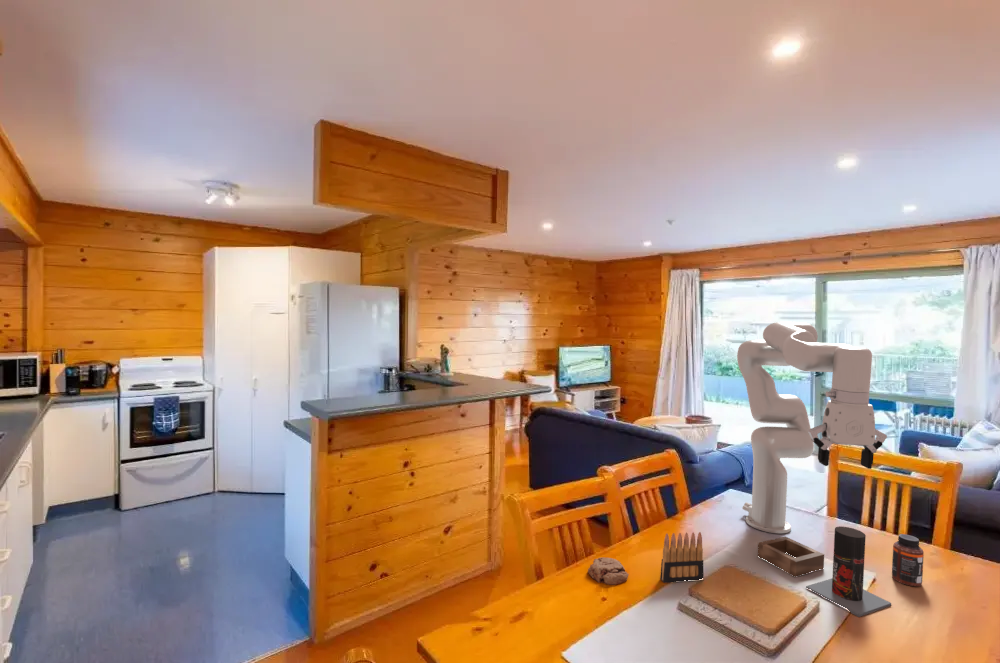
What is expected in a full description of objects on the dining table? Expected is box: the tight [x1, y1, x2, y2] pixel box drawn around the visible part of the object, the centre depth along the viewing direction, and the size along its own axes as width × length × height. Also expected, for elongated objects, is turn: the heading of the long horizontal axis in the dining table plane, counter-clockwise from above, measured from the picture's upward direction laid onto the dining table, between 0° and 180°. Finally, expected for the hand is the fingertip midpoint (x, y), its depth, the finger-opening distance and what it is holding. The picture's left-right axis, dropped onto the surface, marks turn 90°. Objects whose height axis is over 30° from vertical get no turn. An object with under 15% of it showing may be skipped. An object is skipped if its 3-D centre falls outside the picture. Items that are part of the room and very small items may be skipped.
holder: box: [756, 536, 825, 578], centre depth 130 cm, size 11×11×4 cm
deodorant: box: [831, 525, 866, 601], centre depth 115 cm, size 6×6×15 cm
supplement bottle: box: [891, 533, 925, 587], centre depth 122 cm, size 6×6×11 cm
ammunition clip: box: [659, 531, 705, 584], centre depth 120 cm, size 11×2×12 cm, turn 98°
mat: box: [805, 578, 892, 618], centre depth 115 cm, size 12×12×1 cm
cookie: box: [587, 557, 630, 586], centre depth 123 cm, size 10×11×3 cm
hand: (844, 465), depth 119 cm, fingers open, 9 cm apart
